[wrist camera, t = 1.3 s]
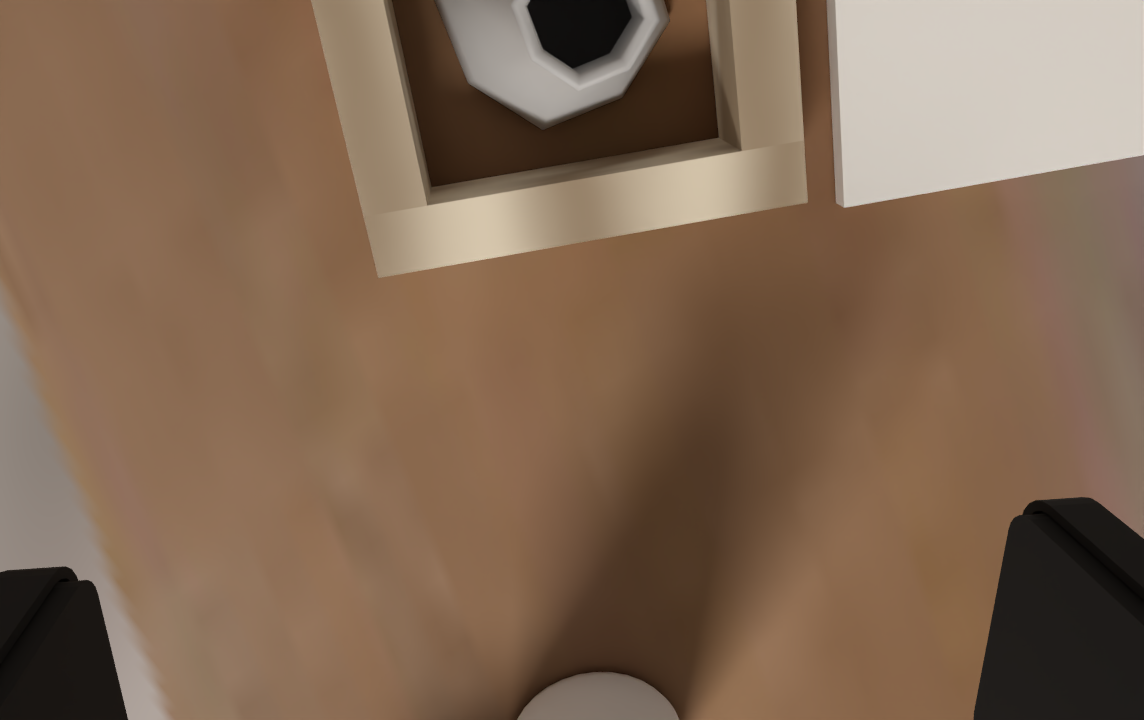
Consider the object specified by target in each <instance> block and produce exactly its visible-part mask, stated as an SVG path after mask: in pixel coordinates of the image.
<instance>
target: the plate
mask: <svg viewBox="0 0 1144 720" xmlns="http://www.w3.org/2000/svg"><path fill="white" fill-rule="evenodd" d="M827 21H828V42H829V64H830V85H831V106H832V128H833V149H834V171H835V192H836V203H837V204H839V205H840V206H842V207H844V208H845V207H851V206H857V205H862V204H868V203H874V202H879V201H885V200H891V199H897V198H902V197H908V196H914V195H919V194H925V193H931V192H936V191H942V190H948V189H953V188H959V187H965V186H970V185H976V184H982V183H987V182H993V181H999V180H1004V179H1010V178H1016V177H1022V176H1027V175H1033V174H1039V173H1044V172H1050V171H1056V170H1061V169H1067V168H1073V167H1078V166H1084V165H1090V164H1095V163H1101V162H1107V161H1112V160H1118V159H1124V158H1129V157H1135V156H1141V155H1144V0H827Z"/></svg>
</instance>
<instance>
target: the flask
mask: <svg viewBox="0 0 1144 720" xmlns="http://www.w3.org/2000/svg"><path fill="white" fill-rule="evenodd" d="M434 1H435V4H436V6H437V9H438V11H439V14H440V16H441V18H442V21H443V23H444V26H445V28H446V31H447V33H448V35H449V38H450V40H451V43H452V45H453V48H454V50H455V53H456V55H457V57H458V60H459V62H460V65H461V67H462V70H463V72H464V74H465V77H466V79H467V82H468V84H470V85H472V86H473V87H475V88H476V89H478V90H480V91H481V92H483V93H484V94H486V95H487V96H489V97H491V98H492V99H494V100H495V101H497V102H499V103H500V104H502V105H503V106H505V107H507V108H508V109H510V110H511V111H513V112H515V113H516V114H518V115H519V116H521V117H523V118H524V119H526V120H527V121H529V122H531V123H532V124H534V125H535V126H537V127H539V128H540V129H542V130H544V129H547V128H549V127H552V126H554V125H557V124H559V123H561V122H564V121H566V120H569V119H571V118H574V117H576V116H579V115H581V114H584V113H586V112H589V111H591V110H593V109H596V108H598V107H601V106H603V105H606V104H608V103H611V102H613V101H616V100H618V99H621V98H623V96H624V94H625V93H626V91H627V90H628V88H629V86H630V85H631V83H632V81H633V80H634V78H635V77H636V75H637V73H638V72H639V70H640V68H641V67H642V65H643V64H644V62H645V60H646V59H647V57H648V56H649V54H650V52H651V51H652V49H653V47H654V46H655V44H656V43H657V41H658V39H659V38H660V36H661V34H662V33H663V31H664V30H665V28H666V26H667V25H668V23H669V22H670V18H669V15H668V12H667V8H666V5H665V2H664V0H434Z"/></svg>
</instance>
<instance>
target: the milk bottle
mask: <svg viewBox="0 0 1144 720" xmlns="http://www.w3.org/2000/svg"><path fill="white" fill-rule="evenodd" d="M517 720H679V718H678V716H677V713H676V711H675V710H674V708H673V706H672V705H671V704H670V702H669V701H668V700H667V699H666V698H665V697H664V696H663V695H662V694H661V693H659V692H658V691H657V690H656V689H655V688H654V687H652V686H650V685H649V684H647V683H645V682H644V681H642V680H640V679H637V678H634V677H631V676H629V675H626V674H619V673H614V672H591V673H585V674H578V675H575V676H572V677H569V678H565V679H562V680H560V681H558V682H556V683H555V684H552V685H550V686H548V687H547V688H545V689H544V690H543V691H542V692H540V693H539V694H537V695H536V696H535V697H534V698H533V699H532V700H531V701H530V702H529V703H528V704H527V705H526V706H525V707H524V709H523V711H522V713H521V714H520V716H519V717H518V719H517Z"/></svg>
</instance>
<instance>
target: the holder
mask: <svg viewBox="0 0 1144 720" xmlns="http://www.w3.org/2000/svg"><path fill="white" fill-rule="evenodd" d="M311 2H312V6H313V10H314V14H315V19H316V23H317V27H318V31H319V35H320V39H321V43H322V47H323V52H324V56H325V60H326V64H327V68H328V72H329V76H330V80H331V85H332V89H333V93H334V97H335V101H336V105H337V109H338V113H339V118H340V122H341V126H342V130H343V134H344V138H345V142H346V146H347V151H348V155H349V159H350V163H351V167H352V171H353V175H354V179H355V184H356V188H357V192H358V196H359V200H360V204H361V208H362V212H363V217H364V221H365V225H366V229H367V233H368V237H369V241H370V245H371V250H372V254H373V258H374V262H375V266H376V270H377V274H378V278H381V277H386V276H392V275H398V274H403V273H409V272H415V271H420V270H426V269H432V268H438V267H443V266H449V265H455V264H460V263H466V262H472V261H477V260H483V259H489V258H495V257H500V256H506V255H512V254H517V253H523V252H529V251H534V250H540V249H546V248H551V247H557V246H563V245H569V244H574V243H580V242H586V241H591V240H597V239H603V238H608V237H614V236H620V235H625V234H631V233H637V232H643V231H648V230H654V229H660V228H665V227H671V226H677V225H682V224H688V223H694V222H700V221H705V220H711V219H717V218H722V217H728V216H734V215H739V214H745V213H751V212H756V211H762V210H768V209H774V208H779V207H785V206H791V205H796V204H802V203H808V200H807V182H806V165H805V148H804V131H803V114H802V97H801V79H800V62H799V45H798V28H797V11H796V0H706V4H707V15H708V26H709V37H710V48H711V59H712V69H713V80H714V91H715V102H716V113H717V124H718V134H719V138H714V139H708V140H702V141H696V142H691V143H685V144H679V145H673V146H667V147H662V148H656V149H650V150H644V151H639V152H633V153H627V154H621V155H615V156H610V157H604V158H598V159H592V160H586V161H581V162H575V163H569V164H563V165H557V166H552V167H546V168H540V169H534V170H528V171H523V172H517V173H511V174H505V175H500V176H494V177H488V178H482V179H476V180H471V181H465V182H459V183H453V184H447V185H442V186H436V187H431V182H430V178H429V173H428V168H427V163H426V159H425V154H424V149H423V145H422V140H421V135H420V130H419V126H418V121H417V116H416V112H415V107H414V102H413V97H412V93H411V88H410V83H409V78H408V74H407V69H406V64H405V60H404V55H403V50H402V45H401V41H400V36H399V31H398V27H397V22H396V17H395V12H394V8H393V3H392V0H311Z"/></svg>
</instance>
